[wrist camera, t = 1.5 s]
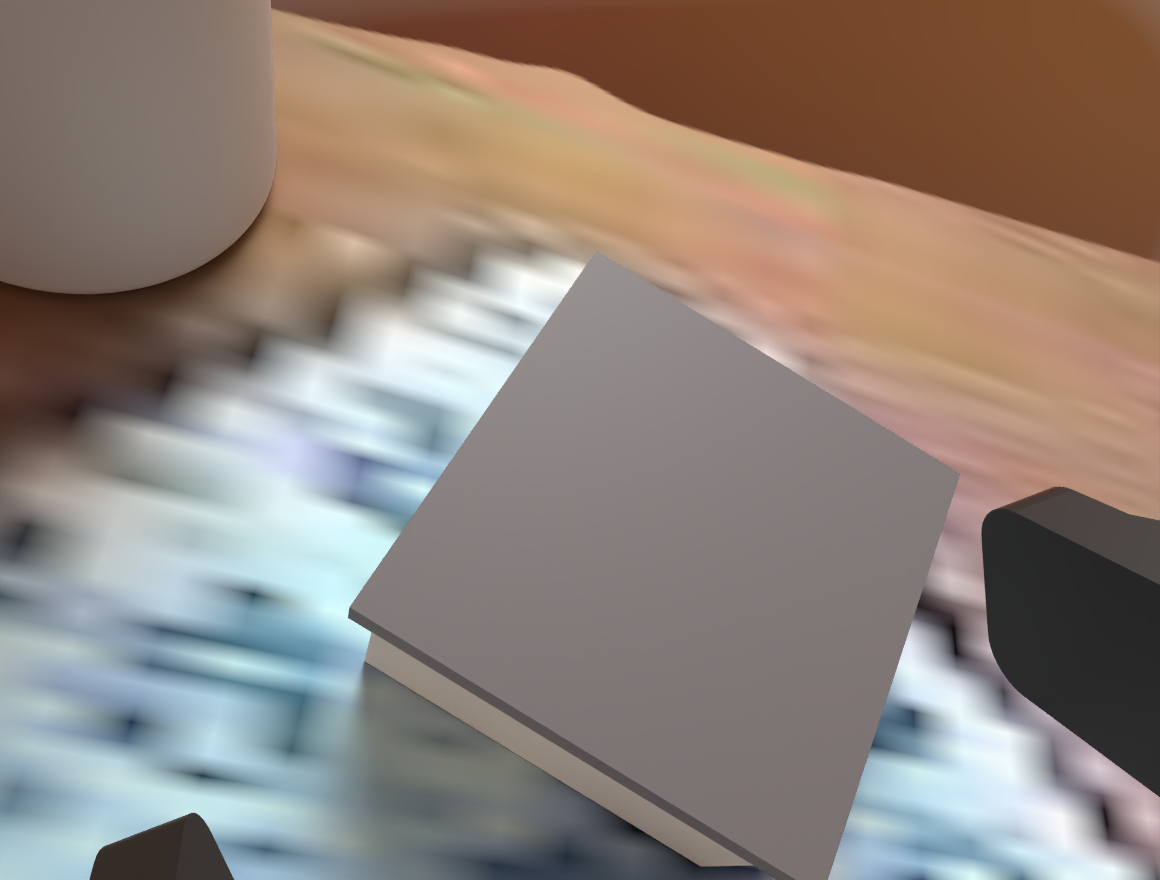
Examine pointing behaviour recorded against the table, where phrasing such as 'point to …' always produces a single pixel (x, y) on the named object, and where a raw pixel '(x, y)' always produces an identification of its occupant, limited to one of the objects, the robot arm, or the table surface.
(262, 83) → the cylinder vase
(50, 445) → the table surface
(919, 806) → the table surface
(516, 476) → the podium
